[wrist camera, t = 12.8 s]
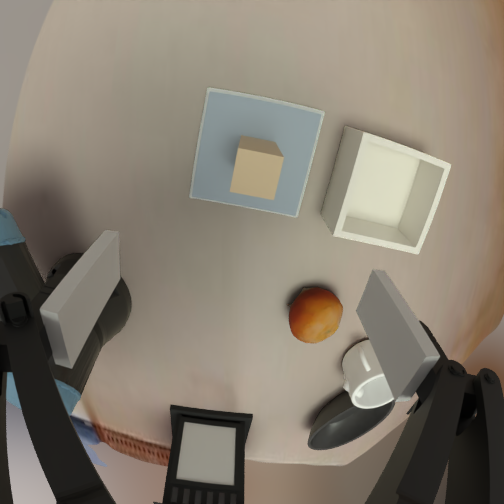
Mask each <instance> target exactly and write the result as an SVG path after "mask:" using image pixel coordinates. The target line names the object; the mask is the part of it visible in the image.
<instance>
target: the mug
mask: <svg viewBox="0 0 504 504" xmlns="http://www.w3.org/2000/svg"><path fill="white" fill-rule="evenodd" d="M342 367H343V372H344V380H345V382H344V386H343V388H344V389H345V390H346V391H348V393H349V396H350V397H351V401H352V403H353V404H354V405H355V406H357V407H359V408H364V409H370V408H376V407H380V406H382V405H385V404H387V403H389V402H391V401H392V400H394V398H393V395H392V393H391V390H390V388H389V385H388V383H387V380H386V378H385V375H384V373H383V371H382V368H381V366H380V364H379V361H378V359H377V356H376V354H375V352H374V350H373V347H372V345H371V343H370V340H365V341H362V342H360V343H358V344H356V345H355V346H353V347H352V348H351V349H350V350H349V351H348V352H347V353H346V355H345V356H344V358H343V362H342Z"/></svg>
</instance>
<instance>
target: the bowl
mask: <svg viewBox="0 0 504 504" xmlns="http://www.w3.org/2000/svg"><path fill="white" fill-rule="evenodd" d="M394 405H395V400H392V401H391V402H389V403H387V404H385V405H382V406H380V407H376V408H370V409H364V408H359V407H357V406H355V405H354V404H353V403H352V401H351V397H350V396H349V393H348V391H345V392H344V393H342V394H340V395H339V396H337V397H336V398H334V399H333V400H332V401H331V402H329V403H328V404H327V405H326V406H325V407H324V408H323V409H322V411H321V412H320V414H319V415H318V417H317V419H316V420H315V422H314V424H313V427H312V429H311V432H310V435H309V439H308V446H309V448H311V449H314V450H327V449H332V448H335V447H339V446H342V445H344V444H347V443H349V442H351V441H353V440H355V439H357V438H359V437H361V436H362V435H364V434H366V433H367V432H369V431H370V430H372V429H373V428H374V427H376V426H377V425H378V424H379V423H381V422H382V421H383V420H384V419H385V418H386V417H387V416H388V415H389V414H390V412H391V411H392V409H393V407H394Z"/></svg>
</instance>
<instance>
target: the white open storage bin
mask: <svg viewBox="0 0 504 504" xmlns="http://www.w3.org/2000/svg"><path fill="white" fill-rule="evenodd" d="M450 167H451V164H449V163H447V162H444V161H442V160H440V159H438V158H435V157H433V156H431V155H428V154H426V153H423V152H421V151H418V150H416V149H413V148H410V147H408V146H405V145H402V144H400V143H397V142H394V141H391V140H388V139H386V138H383V137H380V136H377V135H374V134H371V133H368V132H365V131H361V130H358V129H355V128H352V127H348V126H345V127H344V131H343V135H342V139H341V142H340V146H339V150H338V154H337V157H336V161H335V165H334V168H333V172H332V176H331V179H330V183H329V186H328V190H327V193H326V197H325V200H324V204H323V207H322V210H321V215H322V217H323V219H324V221H325V223H326V224H327V226H328V228H329V230H330V232H331V233H332V235H333V236H336V237H341V238H345V239H350V240H355V241H360V242H364V243H369V244H374V245H378V246H383V247H387V248H392V249H396V250H401V251H405V252H410V253H414V254H419V252H420V249H421V247H422V244H423V242H424V240H425V237H426V235H427V232H428V230H429V227H430V225H431V222H432V219H433V217H434V214H435V211H436V209H437V206H438V203H439V200H440V197H441V195H442V192H443V189H444V186H445V183H446V180H447V177H448V173H449V170H450Z"/></svg>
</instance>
